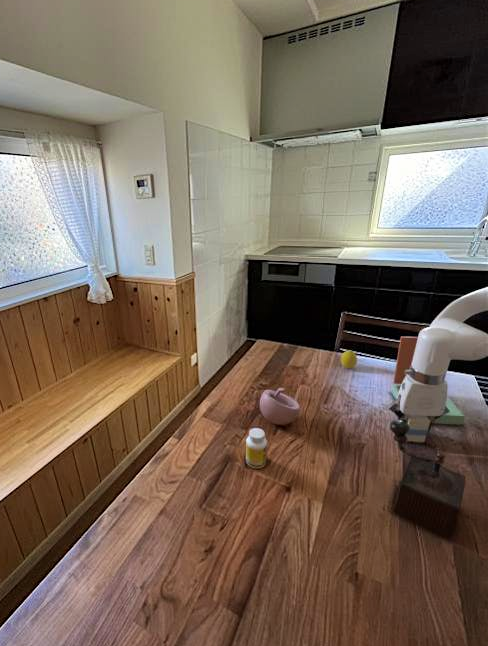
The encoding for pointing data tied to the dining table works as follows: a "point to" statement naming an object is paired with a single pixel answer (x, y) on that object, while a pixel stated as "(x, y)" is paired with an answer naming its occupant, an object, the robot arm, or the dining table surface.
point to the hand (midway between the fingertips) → (412, 429)
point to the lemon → (348, 359)
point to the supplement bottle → (256, 448)
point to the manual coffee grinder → (427, 489)
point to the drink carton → (417, 428)
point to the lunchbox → (450, 418)
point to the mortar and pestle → (278, 407)
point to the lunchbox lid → (404, 357)
